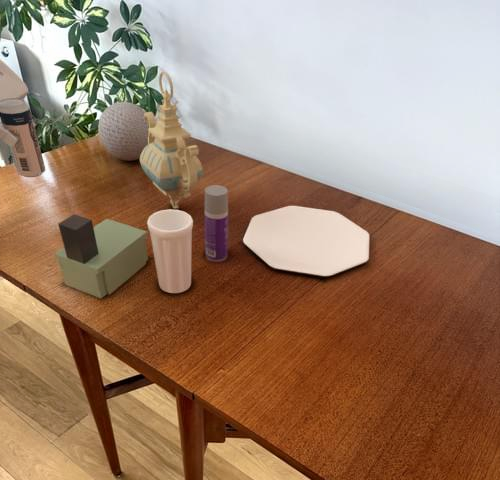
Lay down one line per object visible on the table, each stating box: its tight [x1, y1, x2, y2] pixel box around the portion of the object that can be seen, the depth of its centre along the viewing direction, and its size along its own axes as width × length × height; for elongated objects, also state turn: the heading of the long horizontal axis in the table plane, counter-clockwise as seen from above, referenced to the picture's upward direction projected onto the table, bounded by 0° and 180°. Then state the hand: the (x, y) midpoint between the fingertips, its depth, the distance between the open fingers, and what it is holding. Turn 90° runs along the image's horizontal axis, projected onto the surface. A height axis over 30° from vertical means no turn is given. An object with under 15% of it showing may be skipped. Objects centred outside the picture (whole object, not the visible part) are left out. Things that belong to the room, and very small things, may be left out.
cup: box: [146, 208, 194, 294], centre depth 86 cm, size 8×8×14 cm
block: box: [58, 213, 99, 264], centre depth 83 cm, size 4×4×7 cm
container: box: [204, 184, 229, 263], centre depth 94 cm, size 5×5×15 cm
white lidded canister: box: [0, 98, 46, 178], centre depth 79 cm, size 5×5×12 cm
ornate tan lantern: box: [139, 71, 204, 210], centre depth 103 cm, size 24×12×30 cm, turn 33°
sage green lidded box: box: [53, 218, 149, 299], centre depth 91 cm, size 10×15×7 cm, turn 154°
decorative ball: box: [97, 101, 149, 162], centre depth 129 cm, size 15×15×15 cm
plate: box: [242, 205, 371, 278], centre depth 104 cm, size 28×28×2 cm
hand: (24, 136), depth 79 cm, fingers closed on white lidded canister, 5 cm apart
